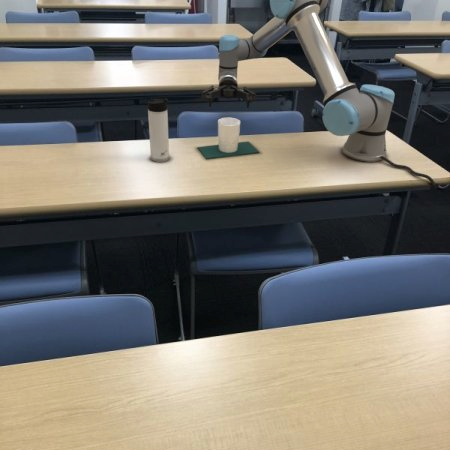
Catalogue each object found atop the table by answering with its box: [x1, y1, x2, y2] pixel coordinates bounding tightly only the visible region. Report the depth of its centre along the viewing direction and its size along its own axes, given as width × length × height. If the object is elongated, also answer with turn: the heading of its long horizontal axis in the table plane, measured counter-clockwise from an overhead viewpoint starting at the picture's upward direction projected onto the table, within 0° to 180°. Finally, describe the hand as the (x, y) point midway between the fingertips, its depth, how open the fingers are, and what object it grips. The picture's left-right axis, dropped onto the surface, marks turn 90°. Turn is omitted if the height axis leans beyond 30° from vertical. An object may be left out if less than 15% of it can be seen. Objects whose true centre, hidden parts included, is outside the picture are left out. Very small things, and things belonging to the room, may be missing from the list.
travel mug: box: [147, 97, 170, 163], centre depth 161 cm, size 6×7×20 cm
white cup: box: [217, 117, 241, 153], centre depth 171 cm, size 8×8×10 cm
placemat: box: [197, 141, 260, 160], centre depth 174 cm, size 10×20×1 cm, turn 111°
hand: (229, 103), depth 173 cm, fingers open, 13 cm apart
